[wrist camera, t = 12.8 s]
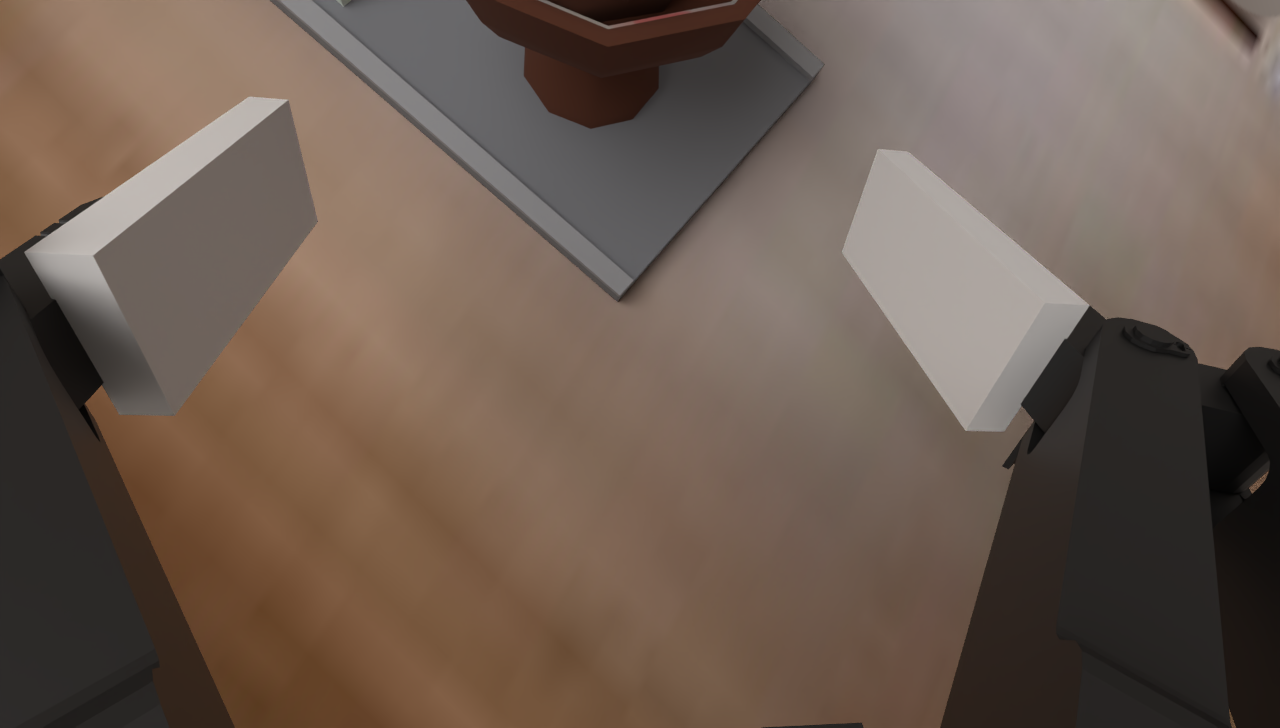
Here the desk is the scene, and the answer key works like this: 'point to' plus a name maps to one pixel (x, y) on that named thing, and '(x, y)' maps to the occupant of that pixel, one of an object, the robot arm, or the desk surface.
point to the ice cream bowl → (607, 47)
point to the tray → (569, 122)
